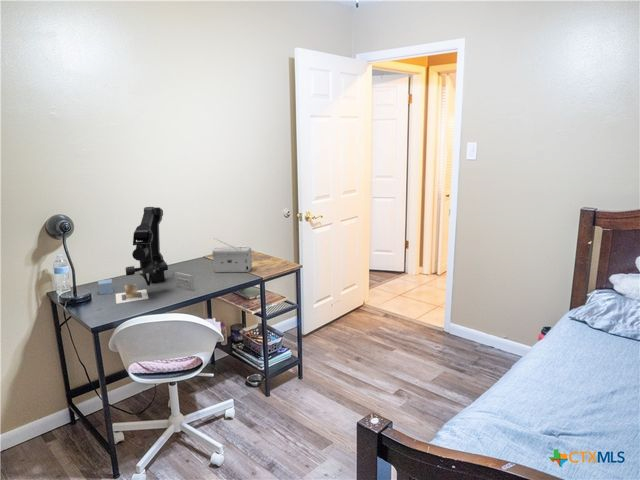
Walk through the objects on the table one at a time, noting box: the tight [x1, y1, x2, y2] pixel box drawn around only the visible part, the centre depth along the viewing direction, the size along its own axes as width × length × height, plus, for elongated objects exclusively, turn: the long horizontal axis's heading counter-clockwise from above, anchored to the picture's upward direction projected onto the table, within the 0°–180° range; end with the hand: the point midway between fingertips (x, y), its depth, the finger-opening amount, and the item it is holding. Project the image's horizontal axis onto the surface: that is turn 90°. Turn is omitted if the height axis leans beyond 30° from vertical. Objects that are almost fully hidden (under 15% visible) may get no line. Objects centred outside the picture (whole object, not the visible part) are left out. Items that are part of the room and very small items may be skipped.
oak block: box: [124, 283, 138, 299], centre depth 213 cm, size 5×5×5 cm
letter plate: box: [115, 288, 149, 304], centre depth 214 cm, size 14×14×1 cm
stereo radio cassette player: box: [211, 237, 253, 274], centre depth 249 cm, size 21×8×20 cm, turn 90°
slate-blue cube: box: [97, 278, 114, 296], centre depth 219 cm, size 6×6×6 cm
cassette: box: [174, 271, 195, 291], centre depth 224 cm, size 12×2×8 cm, turn 59°
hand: (148, 285), depth 216 cm, fingers closed
